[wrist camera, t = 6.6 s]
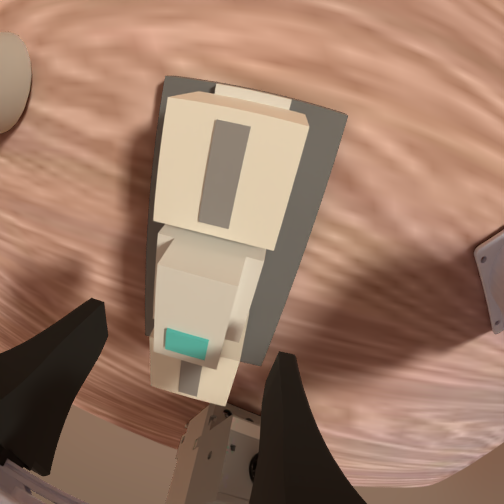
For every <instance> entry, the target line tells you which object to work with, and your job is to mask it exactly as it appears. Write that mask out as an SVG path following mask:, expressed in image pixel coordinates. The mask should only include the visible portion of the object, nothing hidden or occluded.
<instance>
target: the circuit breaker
mask: <svg viewBox="0 0 504 504" xmlns="http://www.w3.org/2000/svg"><path fill="white" fill-rule="evenodd" d="M223 411H225V412H228V413H224V412H223ZM260 424H261V416H259V415H256V414H253V413H251V412H248V411H246V410H243V409H241V408H238V407H236V406H234V405H231V404H229V403H226V406H221V405H217V404H213V403H210V404H209V405H208V406H207V407H206V408H204V409H203V410H202V411H201V412H200V413H199V414H197V415H196V416H195V417H194V418H193V419H191V420H190V421H189V424H185V428H187V432H186V433H185V434H184V435H182V437H181V441H180V444H179V448H178V451H177V455H176V459H177V463H176V467H175V470H174V474H173V477H172V481H171V484H170V488H169V492H168V495H167V499H166V503H165V504H249V500H250V496H251V491H252V486H253V482H254V477H255V471H256V466H257V461H258V453H259V439H260ZM183 441H184V442H183Z"/></svg>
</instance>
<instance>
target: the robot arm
mask: <svg viewBox="0 0 504 504" xmlns="http://www.w3.org/2000/svg"><path fill="white" fill-rule="evenodd" d="M474 257H475V260H476V264H477V267H478V271H479V274H480V278H481V282H482V286H483V290H484V294H485V298H486V302H487V307H488V312H489V316H490V321H491V327H492V331H493V333H494V334H498V333H500V332H502V331H503V330H504V230H502V231H501V232H499V233H498V234H496V235H495V236H493V237H492V238H490V239H488V240H487V241H485V242H484V243H482V244H481V245H479V246H478V247H477V248H476V249H475V251H474ZM482 257H484V258H483V259H482V260H481V258H482ZM107 337H108V330H107V323H106V315H105V306H104V302H102V301H99V300H96V299H93V298H91V299H89V300H88V301H86V302H85V303H83V304H82V305H80V306H79V307H78V308H76V309H75V310H73V311H72V312H71V313H69V314H68V315H66V316H65V317H64V318H62V319H61V320H59V321H58V322H56V323H55V324H53V325H52V326H50V327H49V328H47V329H46V330H44V331H42V332H41V333H39V334H38V335H36V336H35V337H33V338H31V339H29V340H28V341H26V342H24V343H22V344H20V345H18V346H16V347H14V348H12V349H10V350H7V351H5V352H3V353H0V504H46V503H44V502H42V501H40V500H39V499H37V498H36V497H34V496H32V494H31V491H30V489H31V490H32V491H34V492H36V493H37V494H39V495H41V496H43V497H44V498H46V499H48V500H50V501H52V502H54V503H55V504H89V503H86V502H84V501H82V500H80V499H78V498H75V497H73V496H71V495H69V494H67V493H65V492H63V491H61V490H60V489H57V488H56V487H54V486H52V485H50V484H48V483H47V482H45V481H43V480H41V479H39V478H38V477H36V476H34V475H33V474H30V473H29V472H28V471H26V470H24V469H23V467H25V468H26V469H28V470H29V471H30V470H33V471H34V472H36V473H38V474H39V475H41V476H47V475H49V474H50V470H51V466H52V462H53V458H54V454H55V450H56V447H57V443H58V440H59V437H60V433H61V431H62V428H63V425H64V423H65V420H66V417H67V415H68V412H69V410H70V407H71V405H72V403H73V401H74V399H75V397H76V395H77V393H78V391H79V390H80V388H81V386H82V384H83V383H84V381H85V379H86V378H87V376H88V374H89V373H90V371H91V369H92V368H93V366H94V364H95V362H96V361H97V359H98V357H99V356H100V353H101V351H102V349H103V347H104V344H105V342H106V340H107ZM249 504H367V503H366V502H365V501H364V500H363V499H362V497H361V496H360V495H359V494H358V493H357V491H356V490H355V489H354V488H353V486H352V485H351V484H350V482H349V481H348V480H347V478H346V477H345V475H344V474H343V472H342V471H341V469H340V468H339V466H338V465H337V463H336V461H335V460H334V458H333V457H332V455H331V453H330V451H329V449H328V447H327V446H326V444H325V442H324V440H323V438H322V436H321V433H320V431H319V429H318V427H317V424H316V422H315V419H314V417H313V415H312V412H311V409H310V406H309V403H308V400H307V397H306V394H305V391H304V388H303V385H302V381H301V377H300V373H299V369H298V365H297V360H296V356H295V355H294V354H289V353H284V352H280V351H279V353H278V355H277V357H276V360H275V362H274V364H273V366H272V369H271V371H270V373H269V375H268V378H267V380H266V384H265V389H264V395H263V400H262V409H261V424H260V439H259V453H258V461H257V466H256V471H255V477H254V482H253V486H252V491H251V496H250V500H249Z"/></svg>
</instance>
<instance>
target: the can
mask: <svg viewBox="0 0 504 504" xmlns="http://www.w3.org/2000/svg"><path fill="white" fill-rule="evenodd" d="M31 79H32V69H31V61H30V57H29V54H28V51H27V48H26V45H25V43H24V42H23V41H22V40H21V38H20V37H19V36H18V35H16V34H13V33H11V32H0V134H1V133H3V132H6V131H9V130H10V129H11V128H12V127H13V126H14V125H15V124H16V123H17V121H18V119H19V118H20V116H21V114H22V112H23V110H24V108H25V105H26V101H27V98H28V95H29V92H30V88H31Z"/></svg>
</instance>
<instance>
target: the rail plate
mask: <svg viewBox="0 0 504 504" xmlns="http://www.w3.org/2000/svg"><path fill="white" fill-rule="evenodd" d="M347 118H348V115H346V114H345V113H342V112H339V111H336V110H332V109H329V108H326V107H322V106H319V105H315V104H312V103H308V102H305V101H301V100H297V99H293V98H290V97H286V96H282V95H277V94H273V93H269V92H265V91H260V90H255V89H251V88H246V87H241V86H236V85H230V84H225V83H219V82H213V81H207V80H201V79H194V78H187V77H179V76H165V81H164V87H163V92H162V99H161V105H160V112H159V118H158V126H157V133H156V141H155V149H154V158H153V167H152V177H151V187H150V199H149V213H148V228H147V247H146V277H145V335H146V336H149V346H150V381H151V386H153V387H156V388H159V389H163V390H166V391H169V392H172V393H176V394H179V395H183V396H186V397H190V398H194V399H197V400H201V401H205V402H209V403H213V404H217V405H221V406H226V403H227V400H228V397H229V394H230V390H231V387H232V384H233V381H234V378H235V375H236V372H237V369H238V365H239V362H244V363H249V364H253V365H257V366H261V365H262V363H263V360H264V358H265V355H266V353H267V350H268V347H269V345H270V342H271V340H272V337H273V335H274V332H275V329H276V327H277V324H278V322H279V319H280V316H281V314H282V311H283V308H284V306H285V303H286V300H287V298H288V295H289V292H290V290H291V287H292V284H293V281H294V279H295V276H296V273H297V270H298V268H299V265H300V262H301V259H302V256H303V254H304V251H305V248H306V245H307V242H308V239H309V236H310V233H311V231H312V228H313V225H314V222H315V219H316V216H317V213H318V210H319V207H320V204H321V201H322V198H323V195H324V192H325V189H326V186H327V183H328V180H329V176H330V173H331V170H332V167H333V164H334V161H335V157H336V154H337V151H338V148H339V145H340V141H341V138H342V135H343V131H344V128H345V125H346V121H347ZM165 224H168V225H172V226H176V227H180V228H185V229H189V230H193V231H197V232H201V233H205V234H209V235H213V236H217V237H221V238H225V239H228V240H232V241H236V242H240V243H244V244H248V245H252V246H256V247H260V248H264V249H266V254H265V260H264V264H263V267H262V270H261V274H260V277H259V280H258V283H257V287H256V290H255V293H254V296H253V300H252V303H251V306H250V309H249V313H248V316H247V319H246V322H245V326H244V329H243V332H242V335H241V338H240V342H239V343H237V342H234V341H230V340H226V339H224V343H223V347H222V350H221V354H220V358H219V362H218V366H217V370H215V369H211V368H208V367H204V366H200V365H197V364H193V363H190V362H186V361H183V360H180V359H176V358H173V357H170V356H166V355H163V354H160V353H157V352H154V319H153V301H154V281H155V265H156V251H157V239H158V233H159V231H160V230H161V229H162V227H163V226H164V225H165Z"/></svg>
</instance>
